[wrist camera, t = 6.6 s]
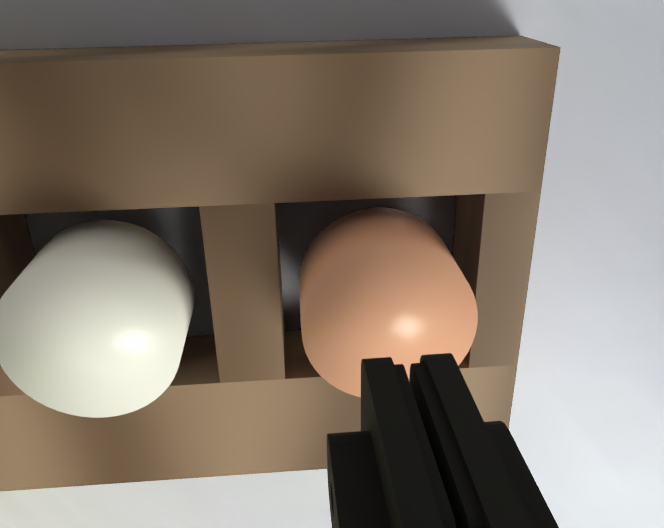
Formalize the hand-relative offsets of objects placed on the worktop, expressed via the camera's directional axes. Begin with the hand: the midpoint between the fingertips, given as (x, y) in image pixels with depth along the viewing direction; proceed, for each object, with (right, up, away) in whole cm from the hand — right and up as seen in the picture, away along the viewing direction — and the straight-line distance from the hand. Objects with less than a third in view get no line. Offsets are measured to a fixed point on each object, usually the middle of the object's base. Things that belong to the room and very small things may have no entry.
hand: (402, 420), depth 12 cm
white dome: (-7, +2, +5) cm, 9 cm away
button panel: (-7, +3, +6) cm, 10 cm away
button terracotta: (0, +2, +5) cm, 6 cm away
